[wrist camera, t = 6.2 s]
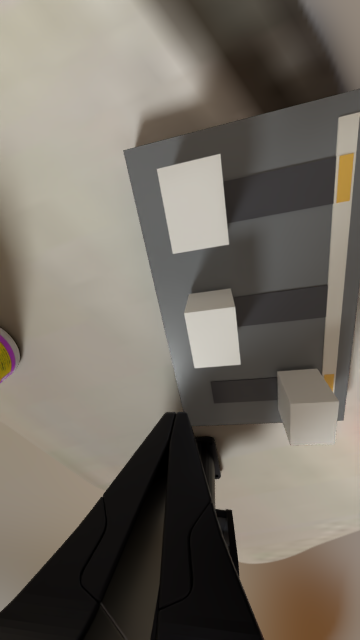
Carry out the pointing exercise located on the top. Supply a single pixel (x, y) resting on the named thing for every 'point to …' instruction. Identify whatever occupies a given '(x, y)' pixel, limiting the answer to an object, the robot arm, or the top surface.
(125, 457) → the top surface
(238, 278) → the switch bank
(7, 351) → the supplement bottle
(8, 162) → the top surface
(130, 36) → the top surface
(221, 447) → the top surface
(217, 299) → the tab middle
